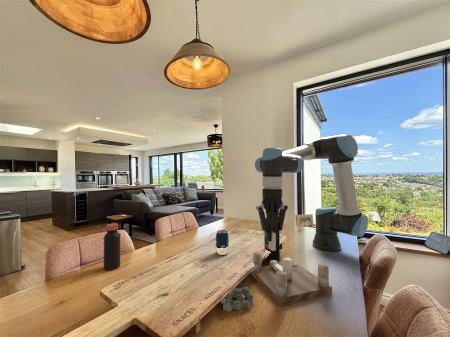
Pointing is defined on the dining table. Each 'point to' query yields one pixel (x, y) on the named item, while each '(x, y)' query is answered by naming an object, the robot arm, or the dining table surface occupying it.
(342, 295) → the dining table surface
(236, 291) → the egg carton
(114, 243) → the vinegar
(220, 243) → the soda can
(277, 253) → the wine bottle
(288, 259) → the hinged leg
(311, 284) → the stool seat
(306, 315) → the dining table surface
